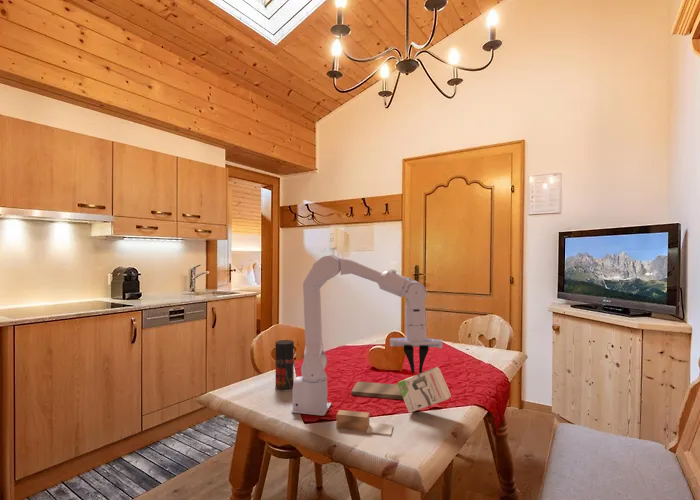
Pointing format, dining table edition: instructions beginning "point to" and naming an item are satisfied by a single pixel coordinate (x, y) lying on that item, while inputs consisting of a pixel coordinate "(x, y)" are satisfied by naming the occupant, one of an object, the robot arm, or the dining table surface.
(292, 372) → the deodorant
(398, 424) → the dining table surface
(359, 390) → the board
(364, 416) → the blocks
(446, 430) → the dining table surface
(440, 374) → the ink box
